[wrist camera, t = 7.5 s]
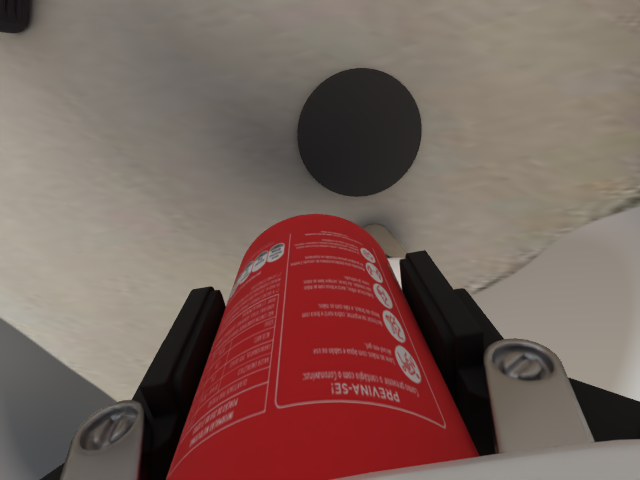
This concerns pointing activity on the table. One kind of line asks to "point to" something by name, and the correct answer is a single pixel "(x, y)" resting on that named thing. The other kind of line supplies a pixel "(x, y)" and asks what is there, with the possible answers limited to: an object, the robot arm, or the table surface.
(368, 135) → the coaster
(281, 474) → the beverage can
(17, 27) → the two-way radio
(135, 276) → the table surface
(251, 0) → the table surface
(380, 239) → the milkshake
